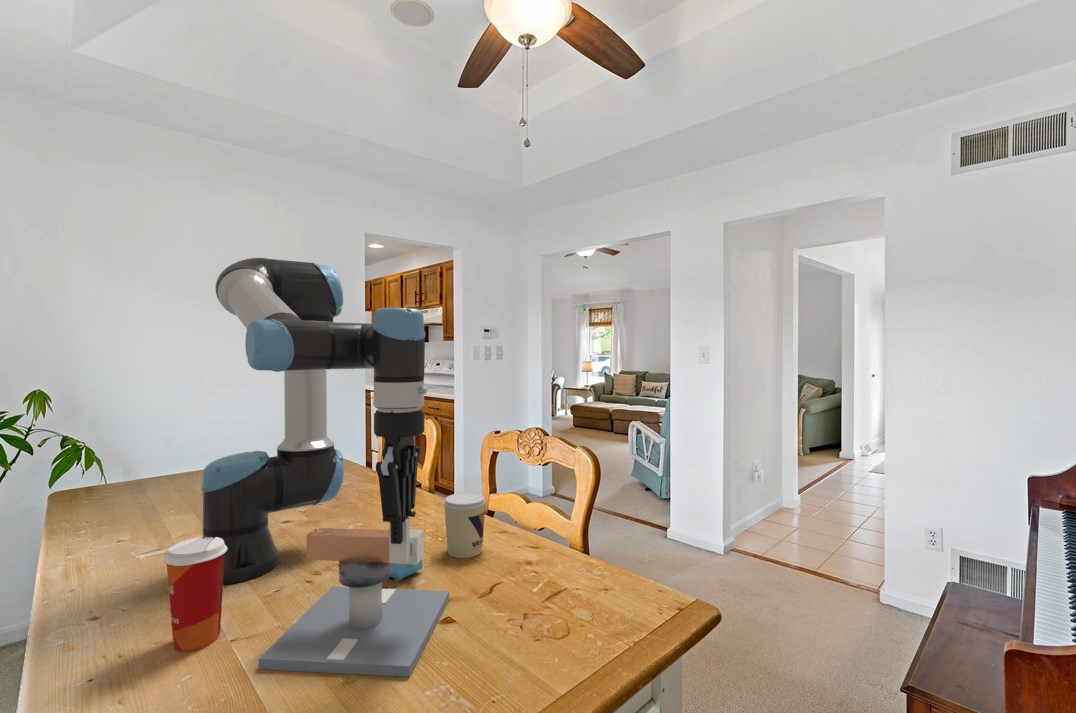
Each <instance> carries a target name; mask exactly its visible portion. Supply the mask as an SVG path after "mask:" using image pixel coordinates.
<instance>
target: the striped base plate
mask: <svg viewBox="0 0 1076 713" xmlns="http://www.w3.org/2000/svg"><path fill="white" fill-rule="evenodd" d="M382 583H383V582H382ZM382 583H379V584H376V585H373V586H369V587H360V588H353V587H347V586H331V588H329V589H328V590H327V592H326V593H324V595H322V596H321V597H320V599H318V600H317V601H316V602H314V604H313V605H312V606H311V607H310V608H309V609H308V610H307V611H306V612H305V613H304V614H303V615H302V616H301V617H300V618H299V619H297V621H295V622H294V624H293V625H292V626H291V627H290V628H288V629H287V631H285V632H284V633H283V634H282V635H281V636H280V637H279V638H277V640H276V641H275V642H274V643H273V644H272V645H271V646H270V647H269V648H268V649H267V650H266V651H265V652H264V653H263V654H262V655H260V657H259V658H258V670H265V669H266V670H267V669H268V670H269V671H285V672H286V670H287V672H305V671H306V672H307V673H322V674H323V673H324V674H325V673H326V674H327V673H328V674H344V675H345V674H346V675H347V674H348V675H361V676H362V675H366V676H367V675H368V676H383V677H385V676H386V677H403V678H405V677H406V678H410V677H411V676H412V673H413V671H414V669H415V668H416V665H417V663H418V662H419V659H420V658H421V656H422V654H423V652H424V650H425V648H426V646H427V645H428V642H429V640H430V638H431V636H432V634H433V633H434V630H435V628H436V627H437V625H438V623H439V620H440V618H441V617H442V615H443V613H444V611H445V609H446V607H447V605H448V602H449V601H450V591H449V590H434V589H433V590H431V589H429V590H428V589H408V588H407V589H404V588H402V589H401V588H382V586H383V584H382ZM289 670H290V671H289ZM306 672H305V673H306Z"/></svg>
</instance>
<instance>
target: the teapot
mask: <svg viewBox="0 0 1076 713" xmlns="http://www.w3.org/2000/svg"><path fill="white" fill-rule="evenodd" d="M422 569H423V558H422V559H421V560H420V561H419V563H418V564H417V565H415V564H399V563H391V576H390V577H389V578H393V579H394V582H401V581H403V579H404V578H406V577H408V576H410V575H415V574H416V572H418V571H420V570H422Z"/></svg>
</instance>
